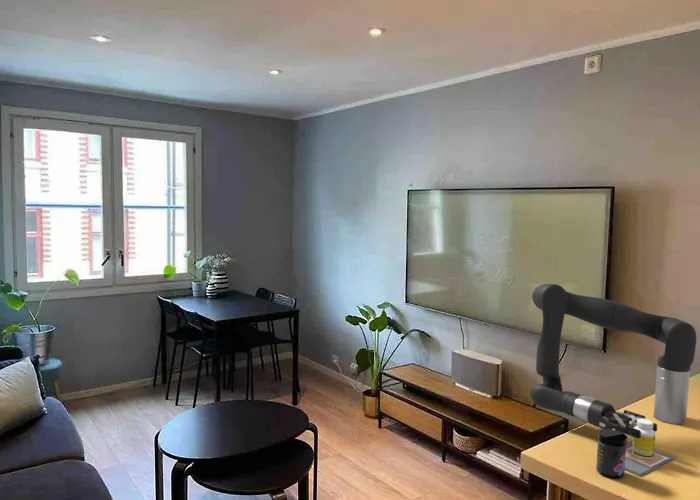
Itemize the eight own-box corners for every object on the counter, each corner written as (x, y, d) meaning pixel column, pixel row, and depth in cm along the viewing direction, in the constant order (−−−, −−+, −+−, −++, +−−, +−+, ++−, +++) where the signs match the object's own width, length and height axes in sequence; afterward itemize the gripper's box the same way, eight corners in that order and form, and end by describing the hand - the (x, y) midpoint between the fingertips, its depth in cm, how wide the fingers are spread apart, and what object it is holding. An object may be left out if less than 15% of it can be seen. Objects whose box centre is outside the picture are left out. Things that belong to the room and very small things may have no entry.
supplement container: (610, 481, 134) (613, 441, 133) (589, 468, 141) (592, 430, 140) (630, 477, 137) (633, 438, 136) (609, 465, 143) (612, 427, 142)
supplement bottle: (656, 461, 144) (659, 426, 143) (635, 458, 145) (637, 424, 144) (649, 452, 150) (652, 418, 149) (628, 450, 151) (631, 416, 150)
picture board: (634, 443, 156) (634, 441, 156) (674, 459, 147) (674, 456, 147) (599, 458, 146) (599, 456, 146) (639, 476, 137) (639, 473, 137)
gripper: (580, 404, 155) (635, 423, 142) (607, 395, 163) (662, 413, 150) (578, 428, 156) (633, 450, 142) (606, 418, 164) (660, 438, 150)
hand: (648, 431), depth 146 cm, fingers open, 8 cm apart
